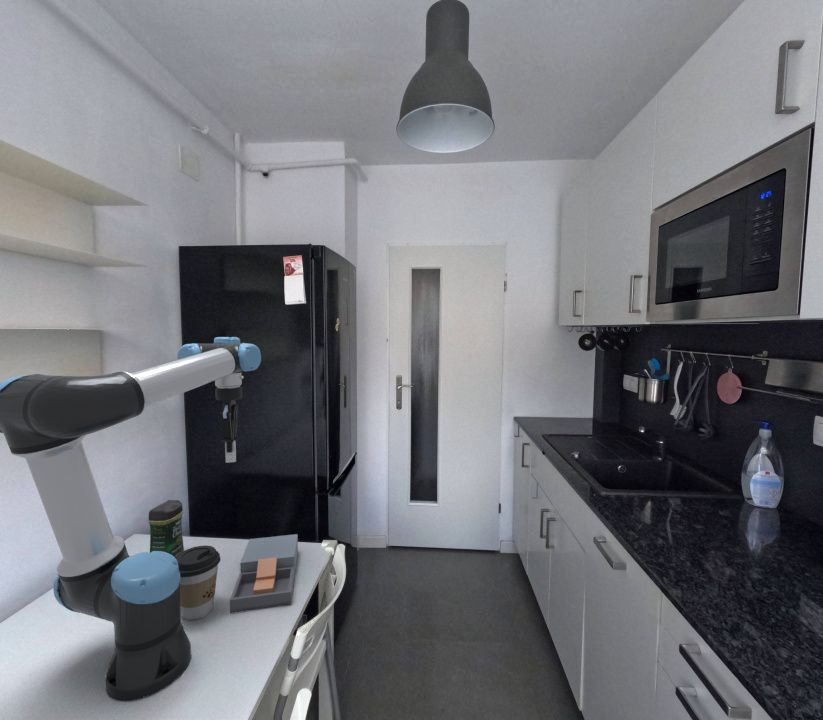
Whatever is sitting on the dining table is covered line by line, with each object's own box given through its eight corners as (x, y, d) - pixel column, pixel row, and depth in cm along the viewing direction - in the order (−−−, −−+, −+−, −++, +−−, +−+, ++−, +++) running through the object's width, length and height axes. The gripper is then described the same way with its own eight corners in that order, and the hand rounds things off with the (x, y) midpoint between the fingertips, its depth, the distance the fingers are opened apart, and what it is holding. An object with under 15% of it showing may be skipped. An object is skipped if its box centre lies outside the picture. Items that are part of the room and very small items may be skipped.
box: (290, 604, 104) (290, 591, 104) (230, 613, 101) (229, 600, 101) (294, 578, 116) (294, 566, 116) (240, 585, 113) (239, 573, 113)
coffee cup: (207, 626, 96) (205, 567, 96) (161, 626, 97) (159, 566, 96) (230, 596, 108) (228, 543, 107) (189, 596, 108) (187, 542, 107)
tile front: (275, 577, 111) (275, 585, 111) (256, 579, 110) (256, 588, 110) (272, 587, 106) (272, 596, 106) (253, 590, 105) (253, 599, 105)
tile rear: (275, 579, 112) (275, 575, 110) (257, 581, 111) (256, 577, 109) (277, 561, 116) (276, 557, 114) (259, 563, 115) (258, 559, 113)
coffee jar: (169, 569, 121) (167, 510, 120) (144, 568, 121) (142, 509, 120) (188, 552, 130) (187, 497, 130) (166, 552, 131) (164, 497, 130)
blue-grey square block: (294, 576, 117) (294, 556, 117) (240, 583, 114) (240, 562, 113) (297, 551, 131) (297, 534, 130) (249, 557, 127) (249, 539, 127)
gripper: (237, 388, 116) (239, 467, 117) (245, 384, 129) (247, 455, 130) (209, 389, 115) (212, 469, 116) (221, 384, 127) (223, 456, 129)
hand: (230, 461), depth 123 cm, fingers closed
